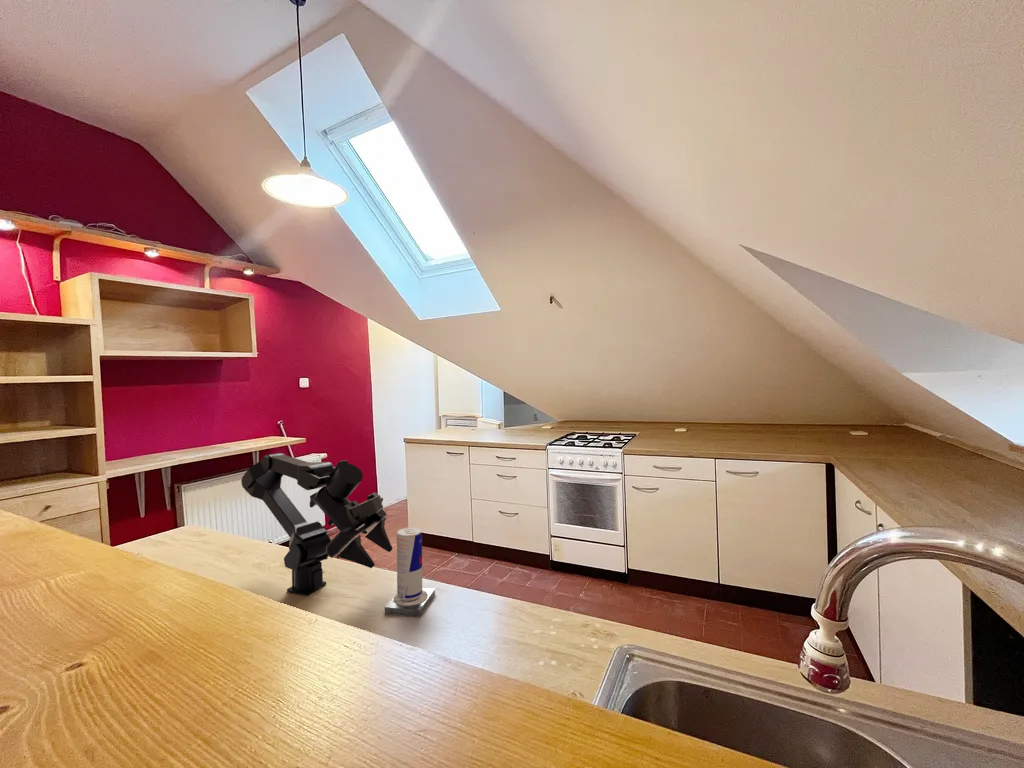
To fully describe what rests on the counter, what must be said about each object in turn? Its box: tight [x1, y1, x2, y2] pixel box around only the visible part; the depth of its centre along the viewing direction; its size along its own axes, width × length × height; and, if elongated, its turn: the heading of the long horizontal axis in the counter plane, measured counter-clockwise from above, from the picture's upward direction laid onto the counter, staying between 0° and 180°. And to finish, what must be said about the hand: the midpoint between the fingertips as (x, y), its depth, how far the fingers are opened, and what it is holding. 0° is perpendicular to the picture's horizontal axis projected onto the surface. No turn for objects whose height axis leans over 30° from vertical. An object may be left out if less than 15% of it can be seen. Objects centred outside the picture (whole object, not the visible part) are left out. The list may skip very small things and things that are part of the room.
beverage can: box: [396, 526, 423, 601], centre depth 100 cm, size 6×6×15 cm
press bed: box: [384, 587, 436, 618], centre depth 100 cm, size 8×10×2 cm
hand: (382, 558), depth 101 cm, fingers open, 9 cm apart
